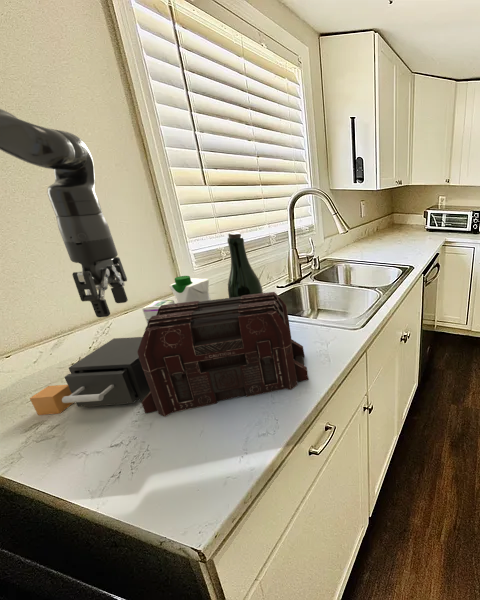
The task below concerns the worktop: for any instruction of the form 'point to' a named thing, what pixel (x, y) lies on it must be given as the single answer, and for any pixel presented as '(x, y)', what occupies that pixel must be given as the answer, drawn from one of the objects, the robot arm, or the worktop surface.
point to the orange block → (51, 399)
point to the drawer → (100, 387)
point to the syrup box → (154, 308)
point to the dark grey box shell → (117, 362)
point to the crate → (218, 352)
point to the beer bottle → (241, 270)
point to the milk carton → (190, 289)
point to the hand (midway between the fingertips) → (113, 309)
